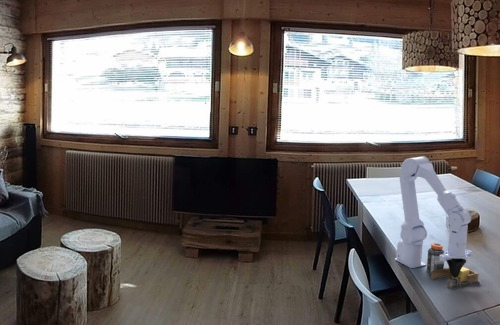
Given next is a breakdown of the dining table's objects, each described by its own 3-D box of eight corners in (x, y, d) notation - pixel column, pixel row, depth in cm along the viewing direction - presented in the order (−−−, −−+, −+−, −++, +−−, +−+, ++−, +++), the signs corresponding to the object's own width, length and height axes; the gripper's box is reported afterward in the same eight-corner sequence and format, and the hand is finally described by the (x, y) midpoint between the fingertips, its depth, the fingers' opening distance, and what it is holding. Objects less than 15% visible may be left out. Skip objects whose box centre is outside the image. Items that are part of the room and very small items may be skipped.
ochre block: (451, 277, 146) (452, 267, 146) (459, 275, 148) (459, 265, 147) (461, 281, 143) (462, 271, 142) (468, 279, 144) (469, 269, 144)
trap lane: (430, 278, 145) (431, 271, 145) (459, 272, 151) (459, 265, 150) (451, 289, 137) (451, 281, 136) (480, 282, 142) (481, 274, 142)
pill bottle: (427, 267, 155) (429, 240, 153) (443, 270, 152) (446, 243, 150) (425, 272, 150) (427, 245, 148) (442, 276, 147) (445, 248, 145)
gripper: (452, 248, 135) (448, 284, 138) (481, 242, 141) (477, 277, 143) (435, 241, 142) (432, 276, 144) (464, 236, 147) (461, 270, 149)
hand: (454, 276), depth 144 cm, fingers closed
